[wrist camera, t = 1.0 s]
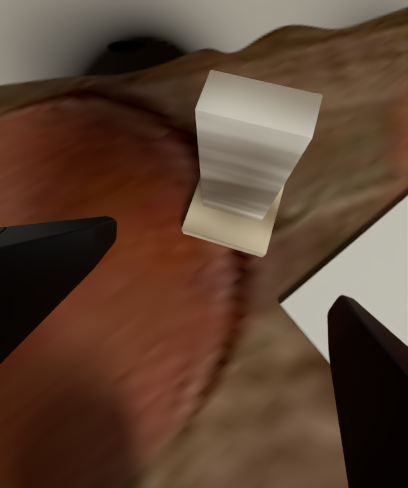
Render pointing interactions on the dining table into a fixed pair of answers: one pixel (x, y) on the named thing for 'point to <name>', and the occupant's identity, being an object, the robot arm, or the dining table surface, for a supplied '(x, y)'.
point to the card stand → (246, 157)
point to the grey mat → (360, 281)
